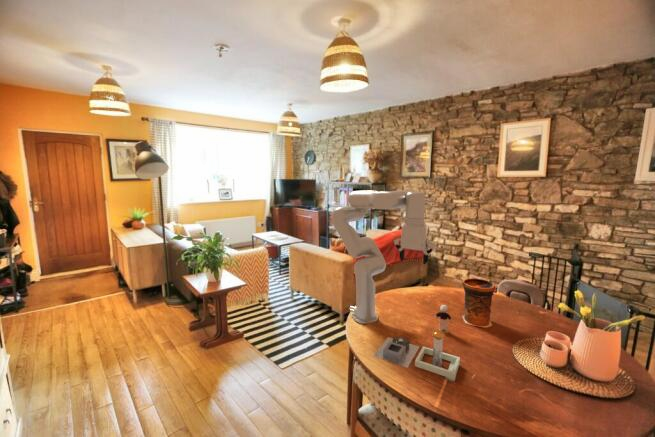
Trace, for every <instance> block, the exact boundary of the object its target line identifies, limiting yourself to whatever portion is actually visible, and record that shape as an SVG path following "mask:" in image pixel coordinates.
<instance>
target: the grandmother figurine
mask: <svg viewBox="0 0 655 437" xmlns="http://www.w3.org/2000/svg"><path fill="white" fill-rule="evenodd" d="M448 309H449V307H448V305H447V304H442V305H441V306H440V308H439V310H440V311H439V312H437V313H436V314H435V316H434V319H436V320H437V319H438V318H439V320H438V322H439V323H438V326H439V328H438V330H441V331H443V332H444V333H445V334H448V333H450V330H449V322H450V323H453V320H452V317H451V316H450V314H449V313H447V312H448Z"/></svg>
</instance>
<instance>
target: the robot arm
mask: <svg viewBox="0 0 655 437" xmlns="http://www.w3.org/2000/svg"><path fill="white" fill-rule="evenodd" d="M347 203H348V205H345V206H339V207H337V208H335V209H334V210H333V211H332V214H331V223H332V226H333V228H334V229H335V231H336V232H337V234H338V235H339V236H340V237H339V238H341V241H342V242H343V245H344V246H345V249H346V250H347V252H348V254H349V256H350V257H351V258H353V259H357V258H360V259H358V260H356V262H355V263H354V265H353V270H354V271H353V272H354V275H355V306H353V305H350V307H349V312H351V313H353V316H352V319H353V320H354V321H355V322H356V323H359V324H363V325H367V324H368V325H369V323H376V322H377V321H379V316H378V314H377V313H376V282H375V280H374V279H373V276H376V275H378V274H382V273H383V272H385V270H386V268H387V263H386V259H385V257H384V255H383V254H382V252H381V250H380V248H379V246H378V245H377V243H376V241H375V240H374V239H373V238H372V237H368V236H364V237H360V236H359V234H358V232H357V231H356V229H355V228H354V227H353V226H352V225H351V224H350V223H352V222H358V221H360V220H362V219H363V218H365V216H366V214H367V213H368V212H369V211H370V209H375V210H397V209H402V208H405V216H404V217H402V218H401V221H402V222H404V224H402V229H401V235H400V236H401V237H398V238H396V239H394V240H393V243H394V245H395V247H396V249H398V252H399V259H400V262H403V261H404V260H405V250H413V251H415V250H416V251H422V252H423V256H422V258H423V259H422V264H423V265H426V264H427V263H429V254H430V253H432V252H433V251H434V250H435V247H436V246H437V245H436V244H435V243H434V242H433V241H431V240H429V239H428V230H427V226H426V225H425V217H426V216H425V210H426V194H425V193H424V191H411V190H406V189H405V190H404V189H402V190H392V191H378V190H377V189H373V190H372V189H370V190H369V189H362V190H354V191H352V192H350V193H349V194H348V196H347ZM399 242H400V244H399ZM428 246H430V248H429V249H428ZM361 257H363V258H361Z"/></svg>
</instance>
